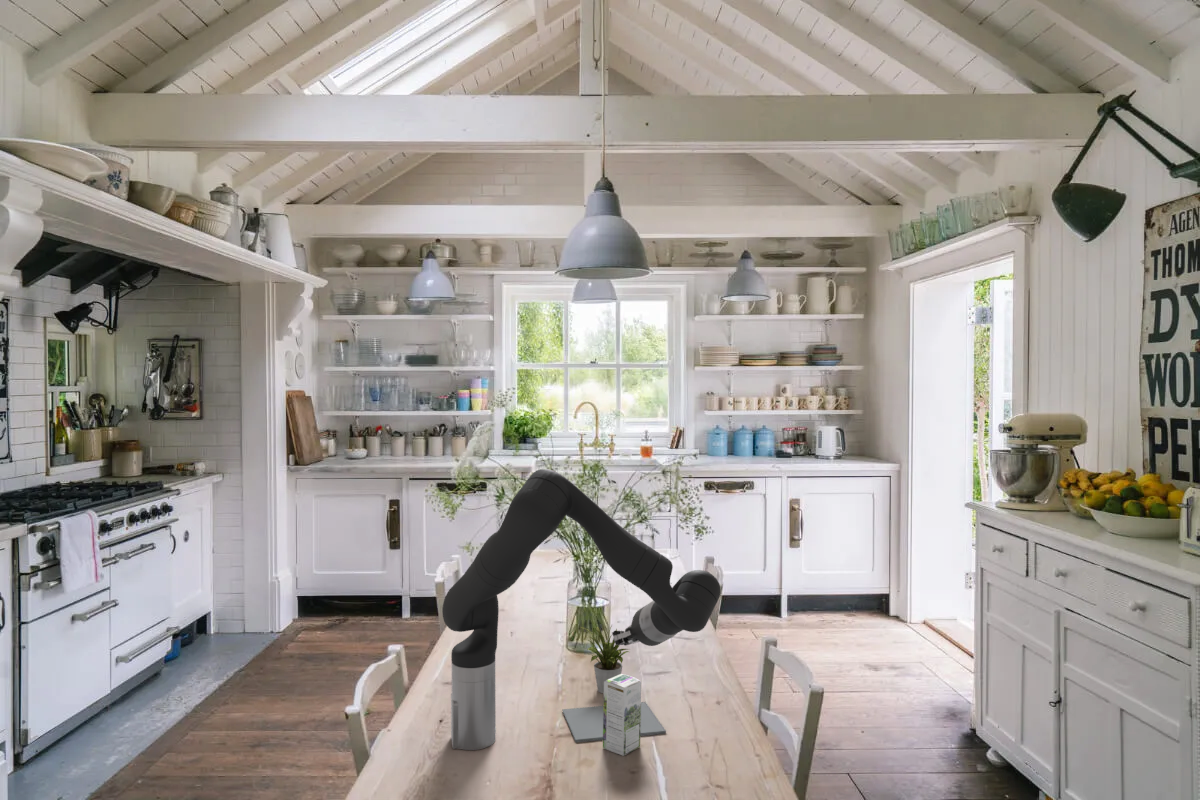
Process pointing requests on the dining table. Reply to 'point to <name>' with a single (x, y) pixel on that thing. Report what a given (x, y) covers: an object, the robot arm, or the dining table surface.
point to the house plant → (606, 660)
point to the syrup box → (622, 714)
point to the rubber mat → (590, 722)
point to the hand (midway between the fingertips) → (626, 639)
